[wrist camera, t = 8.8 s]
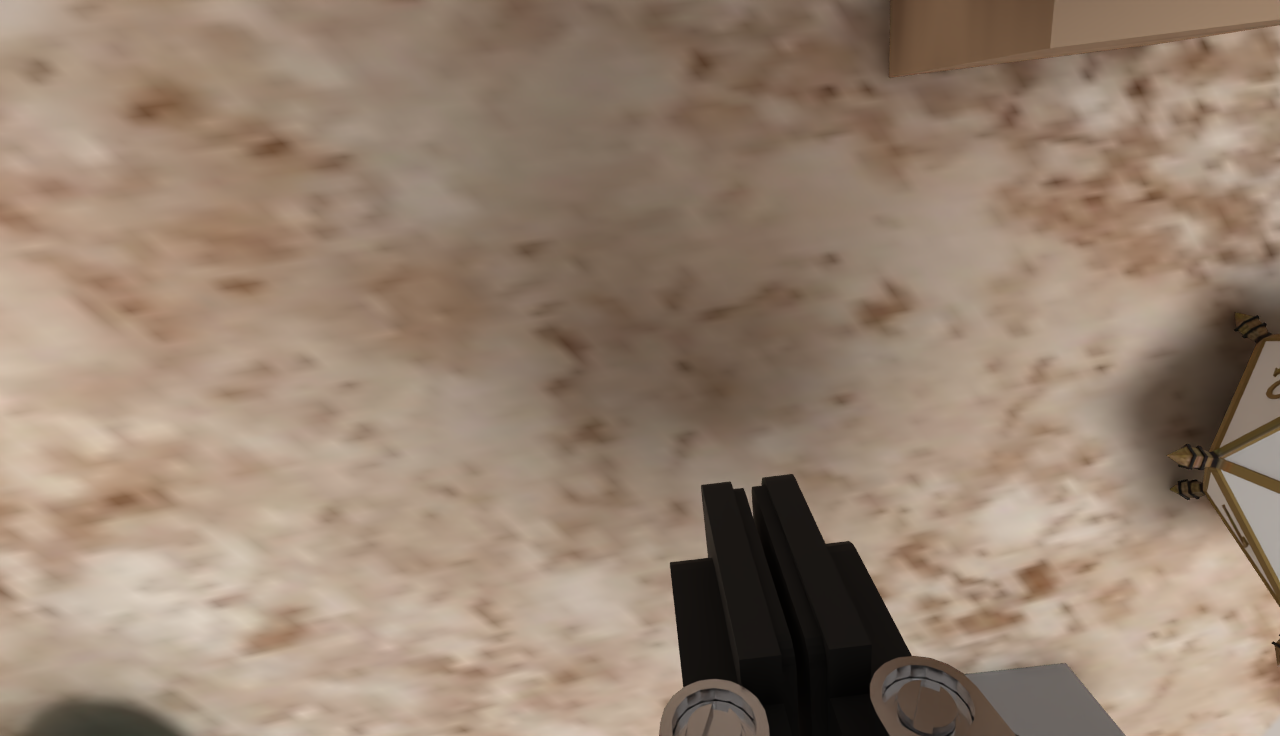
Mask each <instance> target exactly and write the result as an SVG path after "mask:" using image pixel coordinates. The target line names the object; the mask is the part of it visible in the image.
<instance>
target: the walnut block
mask: <svg viewBox="0 0 1280 736" xmlns="http://www.w3.org/2000/svg"><path fill="white" fill-rule="evenodd" d="M1277 25H1280V0H890V57H889V78H891V77H899V76H907V75H915V74H923V73H931V72H938V71H946V70H954V69H962V68H970V67H978V66H986V65H994V64H1002V63H1010V62H1018V61H1026V60H1034V59H1042V58H1050V57H1058V56H1066V55H1074V54H1082V53H1090V52H1098V51H1106V50H1114V49H1122V48H1130V47H1138V46H1145V45H1153V44H1160V43H1167V42H1173V41H1180V40H1186V39H1193V38H1199V37H1206V36H1212V35H1219V34H1225V33H1232V32H1238V31H1245V30H1251V29H1258V28H1264V27H1270V26H1277Z"/></svg>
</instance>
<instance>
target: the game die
mask: <svg viewBox="0 0 1280 736" xmlns="http://www.w3.org/2000/svg"><path fill="white" fill-rule="evenodd" d="M1235 321H1236V329H1235V330H1234V331H1239V332H1241V333H1242V334H1243V336H1242V337H1243V338H1249V339H1251V340H1253V341H1255V343H1256V346H1255V348H1254V351H1253V353H1252V355H1251V357H1250V360H1249V362H1248V364H1247V366H1246V369H1245V371H1244V373H1243V375H1242V378H1241V380H1240V382H1239V384H1238V387H1237V389H1236V391H1235V394H1234V396H1233V398H1232V400H1231V403H1230V405H1229V407H1228V409H1227V412H1226V414H1225V416H1224V418H1223V421H1222V423H1221V425H1220V427H1219V430H1218V432H1217V434H1216V437H1215V439H1214V441H1213V443H1212V446H1211V448H1210V450H1209V452H1208V451H1206V450H1203V449H1202V447H1201V446H1197V447H1196V448H1195V447H1191V446H1190V445H1189V444H1186V445H1185V446H1183V447H1182V448H1181V449H1179V450H1177V451H1175V452H1173V453H1171V454H1168V455H1167V456H1168V457H1170V458H1171V459H1172V460H1174V461H1175V462H1177V463H1178V466H1179V467H1183V468H1186V469H1192V468H1195V469H1199V470H1203V469H1204V468H1205V471H1204V478H1203V482H1198V481H1197V480H1191V481H1188V479H1185V480H1182V481H1178V484H1177V485H1175V486H1174V487H1173V488H1171V489H1170V490H1171V491H1173V492H1175V493H1178V494H1179V495H1181V496H1182V497H1184V498H1185V499H1187V500H1190V498H1196V499H1199V498H1200V496H1203V495H1206V496H1207V498H1208V499H1209V501H1210V502H1211V504H1212V505H1213V507H1214V508H1215V510H1216V511H1217V513H1218V514H1219V516H1220V517H1221V519H1222V521H1223V522H1224V524H1225V525H1226V527H1227V528H1228V530H1229V531H1230V533H1231V534H1232V536H1233V537H1234V539H1235V540H1236V542H1237V543H1238V545H1239V546H1240V548H1241V549H1242V551H1243V552H1244V554H1245V555H1246V557H1247V558H1248V560H1249V561H1250V563H1251V564H1252V566H1253V567H1254V569H1255V570H1256V572H1257V573H1258V575H1259V576H1260V578H1261V579H1262V581H1263V582H1264V584H1265V585H1266V587H1267V588H1268V590H1269V591H1270V593H1271V595H1272V596H1273V598H1274V599H1275V601H1276V602H1277V604H1278V605H1279V607H1280V334H1271V333H1269V332H1268V330H1267V329H1266V325H1267V324H1266V323H1262V322H1261V321H1260V320H1259V316H1258V315H1257V316H1250V315H1245V314H1240V313H1236V312H1235ZM1279 636H1280V635H1279ZM1272 644H1274V645H1275V651H1276V658H1277V665H1278V666H1280V639H1279V640H1278V641H1277V643H1275V642H1272Z"/></svg>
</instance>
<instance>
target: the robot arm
mask: <svg viewBox="0 0 1280 736" xmlns="http://www.w3.org/2000/svg"><path fill="white" fill-rule="evenodd" d="M701 491H702V501H703V511H704V521H705V531H706V541H707V551H708V558H704V559H696V560H687V561H679V562H670V569H671V578H672V587H673V596H674V605H675V615H676V624H677V633H678V642H679V651H680V660H681V669H682V679H683V688H682V689H681V690H680V691H678V692H677V693H676V694H675V695H673V696H672V698H671V699H670V701H669V702H668V704H667V705H666V707H665V708H664V711H663V715H662V718H661V722H660V730H659V736H1019V735H1017V734H1015V733H1014V732H1013V731H1012V730H1011V729H1010V727H1009V726H1008V725H1007V724H1006V722H1005V721H1004V720H1003V719H1002V717H1001V716H1000V715H999V714H998V712H997V711H996V710H995V709H994V707H993V706H992V705H991V704H990V702H989V701H988V700H987V699H986V697H985V696H984V695H983V694H982V692H981V691H980V690H979V689H978V687H977V686H976V685H975V684H974V683H973V682H972V681H971V680H970V679H969V678H967V677H966V676H965V675H964V674H963V673H961V672H960V671H958V670H956V669H955V668H953V667H952V666H950V665H948V664H946V663H943V662H940V661H937V660H934V659H932V658H926V657H918V656H912V655H911V653H910V652H909V650H908V648H907V646H906V644H905V642H904V640H903V638H902V636H901V634H900V632H899V630H898V629H897V627H896V625H895V623H894V621H893V619H892V617H891V615H890V613H889V611H888V609H887V607H886V606H885V604H884V602H883V600H882V598H881V596H880V594H879V592H878V590H877V588H876V586H875V584H874V583H873V581H872V579H871V577H870V575H869V573H868V571H867V569H866V567H865V565H864V563H863V561H862V560H861V558H860V556H859V554H858V552H857V550H856V548H855V547H854V545H853V544H852V543H851V542H849V541H846V542H838V543H830V544H825V542H824V540H823V538H822V535H821V533H820V531H819V529H818V527H817V525H816V522H815V520H814V518H813V516H812V514H811V512H810V509H809V507H808V505H807V503H806V501H805V498H804V496H803V494H802V492H801V490H800V488H799V485H798V483H797V481H796V479H795V477H794V475H793V474H789V475H781V476H772V477H764V478H762V486H756V487H752V503H753V516H752V513H751V510H750V506H749V503H748V500H747V497H746V494H745V491H744V489H743V488H740V489H733V487H732V484H731V482H723V483H715V484H707V485H701Z"/></svg>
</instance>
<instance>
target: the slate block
mask: <svg viewBox="0 0 1280 736" xmlns="http://www.w3.org/2000/svg"><path fill="white" fill-rule="evenodd" d="M964 675H965V676H966V677H967V678H969V679H970V680H971V681H972V682H973V683H974V684H975V685H976V686H977V687H978V689H979V690H980V691H981V692H982V694H983V695H984V696H985V697H986V699H987V700H988V701H989V702H990V704H991V705H992V706H993V707H994V709H995V710H996V711H997V712H998V714H999V715H1000V716H1001V717H1002V719H1003V720H1004V721H1005V722H1006V724H1007V725H1008V726H1009V727H1010V729H1011V730H1012V731H1013V732H1014V733H1015V734H1017V735H1019V736H1125V734H1124V733H1123V732H1122V731H1121V730H1120V728H1119V727H1118V726H1117V725H1116V723H1115V722H1114V721H1113V720H1112V719H1111V717H1110V716H1109V715H1108V714H1107V713H1106V711H1105V710H1104V709H1103V708H1102V706H1101V705H1100V704H1099V703H1098V702H1097V700H1096V699H1095V698H1094V697H1093V696H1092V694H1091V693H1090V692H1089V691H1088V689H1087V688H1086V687H1085V686H1084V685H1083V683H1082V682H1081V681H1080V680H1079V679H1078V677H1077V676H1076V675H1075V674H1074V672H1073V671H1072V670H1071V669H1070V668H1069V666H1068V665H1067V664H1066V663H1062V664H1053V665H1044V666H1035V667H1026V668H1017V669H1008V670H999V671H990V672H981V673H972V674H964Z"/></svg>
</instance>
